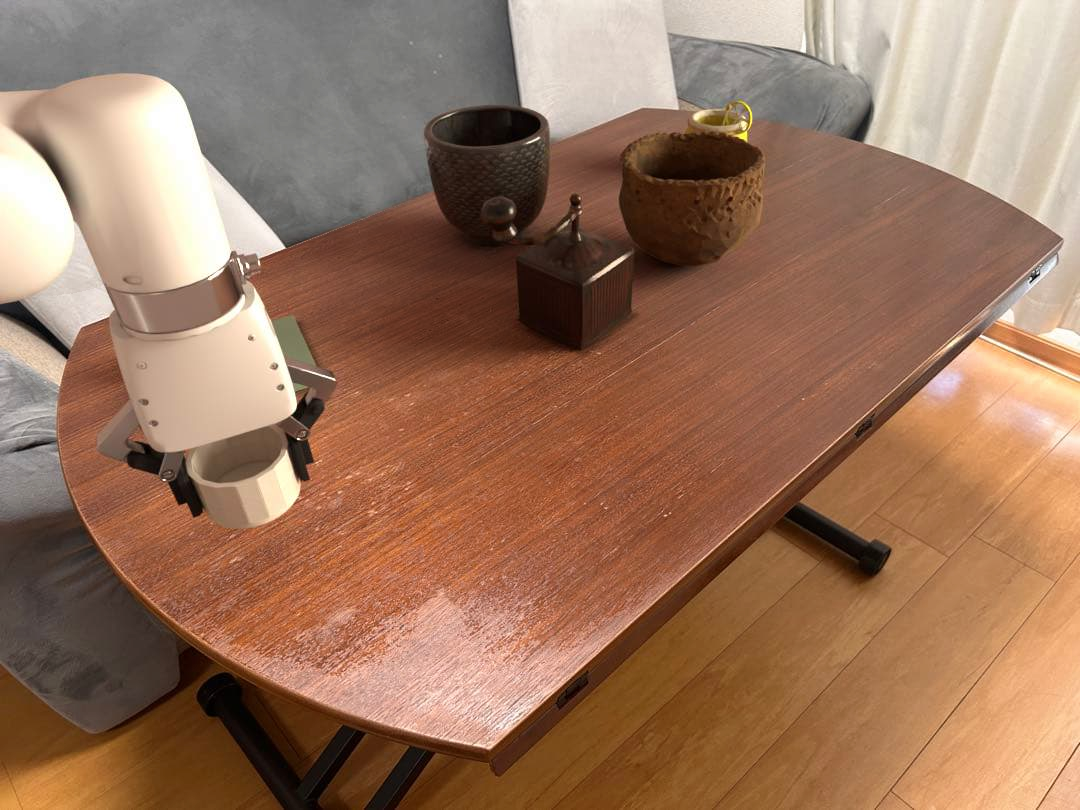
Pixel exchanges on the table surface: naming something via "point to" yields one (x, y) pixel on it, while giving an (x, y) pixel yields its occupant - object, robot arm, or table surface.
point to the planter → (488, 165)
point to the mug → (721, 121)
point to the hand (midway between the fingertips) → (249, 485)
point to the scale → (292, 343)
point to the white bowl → (245, 478)
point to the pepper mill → (566, 276)
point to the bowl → (691, 194)
